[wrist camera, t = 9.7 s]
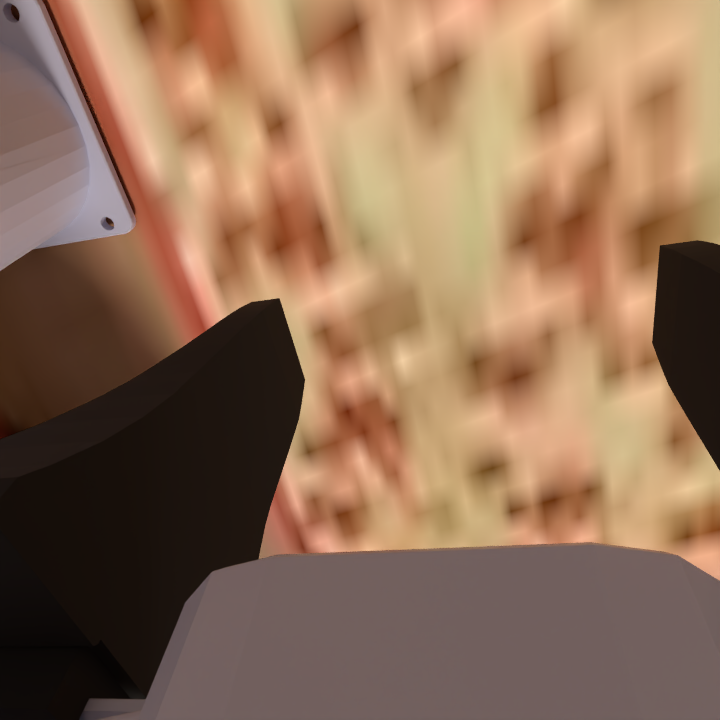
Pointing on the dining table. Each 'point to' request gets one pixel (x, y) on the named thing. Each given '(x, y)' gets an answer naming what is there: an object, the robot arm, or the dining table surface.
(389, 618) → the robot arm
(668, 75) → the dining table surface
